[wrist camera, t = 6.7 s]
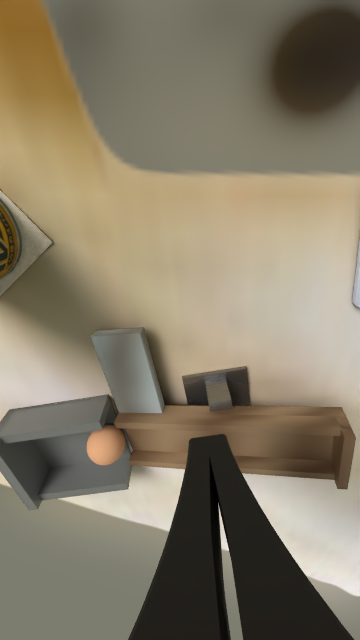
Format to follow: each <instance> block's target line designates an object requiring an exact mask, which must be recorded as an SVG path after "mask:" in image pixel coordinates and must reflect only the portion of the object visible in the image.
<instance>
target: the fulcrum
mask: <svg viewBox="0 0 360 640" xmlns="http://www.w3.org/2000/svg"><path fill="white" fill-rule="evenodd" d="M182 379H183V384H184V388H185V393H186V398H187V402H188V406H209V409H210V412H212V411H219V410H226V409H232V406H250V404H249V391H248V379H247V368H246V366H245V367H238V368H232V369H225V370H219V371H212V372H206V373H199V374H193V375H187V376H182Z"/></svg>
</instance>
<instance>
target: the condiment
mask: <svg viewBox="0 0 360 640" xmlns="http://www.w3.org/2000/svg"><path fill="white" fill-rule="evenodd" d="M51 243H52V241H51V240H50V239H49V238H48V237H47V236H46V235H45V234H44V233H43V232H42V231H41V230H40V229H39V228H38V227H37V226H36V225H35V224H34V223H33V222H32V221H31V220H30V219H29V218H28V217H27V216H26V215H25V214H24V213H23V212H22V211H21V210H20V209H19V208H18V207H17V206H16V205H15V204H14V203H13V202H12V201H11V200H10V199H9V198H8V197H7V196H6V195H5V194H4V193H3V192H2V191H1V190H0V296H1V295H2V294H3V293H4V292H5V291H6V290H7V289H8V288H9V287H10V286H11V285H12V284H13V283H14V282H15V281H16V280H17V279H18V278H19V277H20V276H21V275H22V274H23V273H24V272H25V271H26V270H27V268H28V267H29V266H30V265H31V264H32V263H33V262H34V261H35V260H36V259H37V258H38V257H39V256H40V255H41V254H42V253H43V252H44V251H45V250H46V249H47V248H48V247H49V246H50V244H51Z"/></svg>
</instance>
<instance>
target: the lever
mask: <svg viewBox="0 0 360 640" xmlns="http://www.w3.org/2000/svg"><path fill="white" fill-rule="evenodd" d="M91 339H92V342H93V345H94V347H95V350H96V353H97V355H98V358H99V361H100V363H101V366H102V369H103V371H104V374H105V377H106V379H107V382H108V385H109V387H110V390H111V393H112V395H113V398H114V401H115V403H116V406H117V409H118V411H119V413H118V415H117V417H116V419H115V421H114V424H115V427H116V428H125V430H126V433H127V435H128V438H129V441H130V443H131V446H132V449H133V451H132V454H131V456H130V459H129V462H130V465H135V466H149V467H163V468H177V469H185V468H186V462H187V456H188V447H189V440H190V439H191V438H197V437H204V436H211V435H218V434H224V435H226V436H227V440H228V443H229V446H230V448H231V451H232V453H233V456H234V458H235V460H236V462H237V464H238V467H239V469H240V471H241V473H246V474H260V475H274V476H288V477H302V478H316V479H330V480H335V483H336V486H337V489H347V488H348V482H349V476H350V470H351V464H352V458H353V452H354V446H355V440H356V437H355V435H354V433H353V431H352V429H351V426H350V424H349V422H348V420H347V418H346V415H345V413H344V411H343V409H342V407H265V406H232V409H226V410H219V411H212V412H210V409H209V406H171V405H164V401H163V397H162V393H161V390H160V386H159V382H158V379H157V375H156V371H155V367H154V364H153V360H152V356H151V353H150V349H149V345H148V341H147V338H146V334H145V330H144V328H129V329H114V330H99V331H95V332H94V333H93V334H92V335H91Z"/></svg>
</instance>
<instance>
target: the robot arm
mask: <svg viewBox="0 0 360 640" xmlns="http://www.w3.org/2000/svg"><path fill="white" fill-rule="evenodd" d="M353 304H354V305H355V306H357V307H359V308H360V241H359V249H358V258H357V266H356V275H355V283H354V292H353ZM218 503H219V507H220V512H221V516H222V521H223V525H224V530H225V534H226V539H227V543H228V547H229V552H230V556H231V561H232V567H233V574H234V580H235V587H236V593H237V600H238V606H239V613H240V620H241V627H242V634H243V640H354V639H353V638H352V636H351V635H350V634H349V633H348V631H347V630H346V629H345V628H344V626H343V625H342V624H341V622H340V621H339V620H338V618H337V617H336V616H335V614H334V613H333V612H332V610H331V609H330V608H329V606H328V605H327V604H326V602H325V601H324V600H323V598H322V597H321V596H320V594H319V593H318V592H317V591H316V589H315V588H314V586H313V585H312V584H311V582H310V581H309V580H308V578H307V577H306V575H305V574H304V573H303V571H302V570H301V568H300V567H299V566H298V564H297V563H296V561H295V560H294V558H293V557H292V555H291V554H290V553H289V551H288V550H287V548H286V547H285V545H284V544H283V542H282V541H281V539H280V538H279V536H278V535H277V533H276V531H275V530H274V528H273V527H272V525H271V524H270V522H269V520H268V519H267V517H266V515H265V514H264V512H263V510H262V509H261V507H260V506H259V504H258V502H257V500H256V499H255V497H254V495H253V493H252V491H251V490H250V488H249V486H248V484H247V482H246V480H245V479H244V477H243V475H242V473H241V471H240V469H239V467H238V464H237V462H236V460H235V458H234V456H233V453H232V451H231V448H230V446H229V443H228V440H227V436H226V435H224V434H218V435H211V436H204V437H197V438H191V439H190V440H189V447H188V456H187V462H186V468H185V473H184V478H183V483H182V487H181V491H180V496H179V500H178V504H177V507H176V511H175V514H174V518H173V521H172V525H171V528H170V531H169V535H168V538H167V541H166V544H165V547H164V550H163V553H162V556H161V559H160V561H159V564H158V567H157V570H156V573H155V575H154V578H153V581H152V583H151V586H150V588H149V591H148V594H147V596H146V599H145V601H144V604H143V606H142V609H141V611H140V613H139V616H138V618H137V621H136V623H135V625H134V628H133V630H132V632H131V634H130V636H129V639H128V640H231V638H230V630H229V623H228V615H227V609H226V600H225V591H224V581H223V567H222V553H221V537H220V522H219V507H218Z"/></svg>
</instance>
